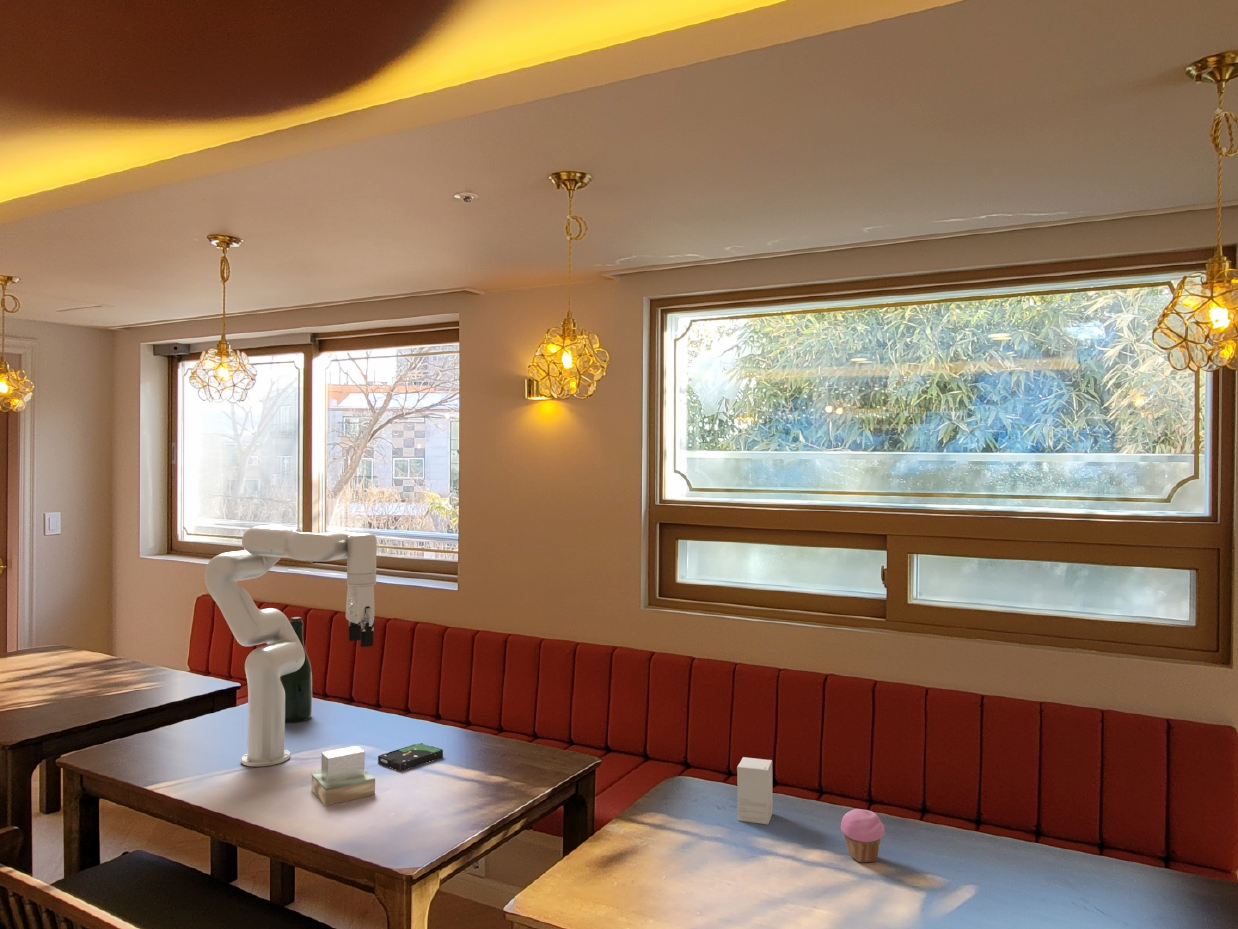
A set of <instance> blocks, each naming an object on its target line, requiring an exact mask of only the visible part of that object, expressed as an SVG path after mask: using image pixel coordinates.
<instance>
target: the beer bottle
mask: <svg viewBox="0 0 1238 929" xmlns="http://www.w3.org/2000/svg"><path fill="white" fill-rule="evenodd" d="M302 619H303V618H302V617H300V616H294V617H290V620H289V622H290V624H291V626H292V627H293V629H294V631H295V633H296V635H297V637H298V639H299V640H300V642H301V644H302V646H303V649H304V652H305V661H304V663H303V665H302V667H301V668H300V669H298V670H297V671H295V672H292V673H290V674H287V675H283V676H281V677H280V680H281V683H282V685H283V687H284V690H285V723H287V724H288V723H289V722H292V723H299V722H304V721H307V720H309V719H310V718H311V717H312V714H313V675H312V665H311V661H310V659H309V656H308V653H307V650H306V648H305V644H304V643H305V642H304V621H303V620H302Z"/></svg>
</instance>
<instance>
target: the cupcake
mask: <svg viewBox="0 0 1238 929" xmlns="http://www.w3.org/2000/svg"><path fill="white" fill-rule="evenodd" d="M840 830H841V833H842V834H843V837H844V840H845V844H846V848H847V851H848V854H849V855H850V857H853V859H855V861H856V862H859V863H871V862H876V861H877V860H878V856H879V851H880V844H881V839H883V838H884V836H885V833H886V828H885V825H884V823H882V821H881V819H880V817H879V815H878V814H877V813H875V812H874V811H872V810H868V809H861V808H854V809H851V810H849V811H848V812H846V813H845V814H844V815H843V817H842V819H841V823H840Z"/></svg>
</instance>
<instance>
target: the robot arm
mask: <svg viewBox="0 0 1238 929" xmlns="http://www.w3.org/2000/svg"><path fill="white" fill-rule="evenodd" d="M241 544H242V547H243V550H237V551H236V550H234V551H227V552H221V553H220V554H217V555H215V556H214V557H212V558H211V559H210V560H209V561H208V563H207V565H206V567H205V571H204V583H205V584H204V585H205V586H206V589H207V592H208V593H209V595H210V596H211V598H212V599H213V600H214V602H215V603H216V605H217V606H218V608H219V610H220V611H221V614H222V616H223V618H224V620H225V621H226V624H227V625H228V627H229V629H230V631H231V633H232V635H233V638H234V639H235V640H236V641H237V643H238V644H239V645H241V647H242V646H243V647H253V646H257V645H258V646H259V645H261V644H265V645H262V646H259V647H257V648H255V649H253V650H252V651H251V652H250V653H249V654H248V655H247V656H246V659H245V662H244V672H245V675H246V676H245V677H246V682H247V692H248V694H247V697H248V699H247V701H248V702H247V707H248V708H247V749H246V752H247V753H245V754H243V755H242V756H241V757H240V760H241V761H240V762H241V765H243V766H246V767H251V768H252V767H255V768H258V767H259V768H260V767H261V768H262V767H269V766H275V765H278V764H281V763H284V762H286V761H288V760H289V759H290V758H291V751H289V750H288V749H285V746H286V745H285V744H286V742H285V741H286V740H285V737H286V736H285V735H286V733H285V732H286V731H285V730H286V722H285V690H284V687H283V685H282V683H281V680H280V677H281V676H283V675H287V674H290V673H292V672H295V671H297V670H298V669H300V668H301V667H302V665H303V663H304V661H305V652H304V649H303V646H302V644H301V642H300V640H299V639H298V637H297V635H296V633H295V631H294V629H293V627H292V626H291V624H290V620H289V618H288V617H287V615H285V613H284V612H282V611H281V610H279V609H278V608H273V607H269V608H268V607H267V608H263V609H261V608H258V607H257V605H256V603H255V602H254V600H253V597H252V596H251V595H250V593H249V592H248V591H247V589H245V588H244V587H242V586H241V585H239V583H238V581H246V580H254V579H257V578H260V577H262V576H264V575H265V574H266V573H268V571H270V570H271V569H272V568H273V567H274V566H275V565H276V563H278V562H279V561H280V560H281V558H285V559H291V560H297V561H305V562H314V563H315V562H318V563H319V562H322V563H323V562H324V563H325V562H331V561H339V560H345V559H347V562H346V586H347V591H346V603H345V619H346V620H347V621H348V641H350V642H353V641H360V643H359V644H360V647H361V648H365V647H373V646H374V629H375V628H374V626H375V624H374V623H375V622H374V621H375V613H376V612H375V605H376V604H375V585H377V545H378V544H377V535H376V534H373V533H365V532H362V533H360V532H358V533H357V532H356V533H355V532H351V531H334V532H332V531H331V532H322V533H313V532H303V531H302V530H301V529H300V528H298V527H295V526H293V527H292V526H291V527H290V526H289V527H288V526H285V525H282V524H267V525H265V524H264V525H255V526H253V527H250V528H248V529H247V530H246V531H245V532H244V533H243V536H242V538H241Z"/></svg>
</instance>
